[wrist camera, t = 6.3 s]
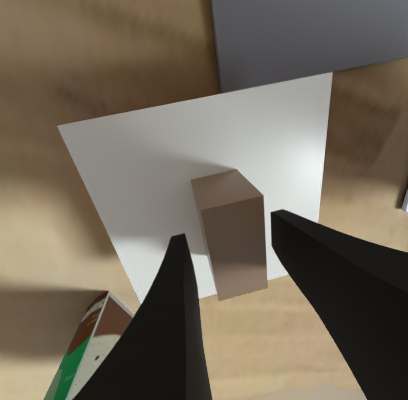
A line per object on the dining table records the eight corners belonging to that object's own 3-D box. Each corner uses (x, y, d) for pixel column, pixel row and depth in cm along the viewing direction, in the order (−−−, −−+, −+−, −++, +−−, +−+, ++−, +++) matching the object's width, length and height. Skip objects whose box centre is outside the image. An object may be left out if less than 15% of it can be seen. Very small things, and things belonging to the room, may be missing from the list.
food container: (36, 310, 18) (-88, 514, 9) (98, 280, 18) (31, 461, 9) (120, 369, 24) (94, 530, 15) (168, 347, 23) (170, 498, 15)
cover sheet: (323, 73, 10) (407, 60, 6) (308, 261, 15) (349, 308, 12) (63, 124, 9) (1, 139, 6) (146, 305, 14) (140, 368, 11)
